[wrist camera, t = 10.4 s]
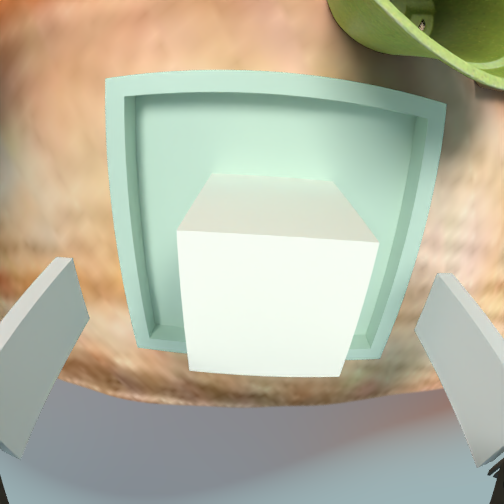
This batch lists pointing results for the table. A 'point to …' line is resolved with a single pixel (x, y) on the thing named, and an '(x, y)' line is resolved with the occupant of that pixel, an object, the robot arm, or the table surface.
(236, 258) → the block
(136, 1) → the table surface
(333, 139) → the tray
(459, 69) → the plant pot
